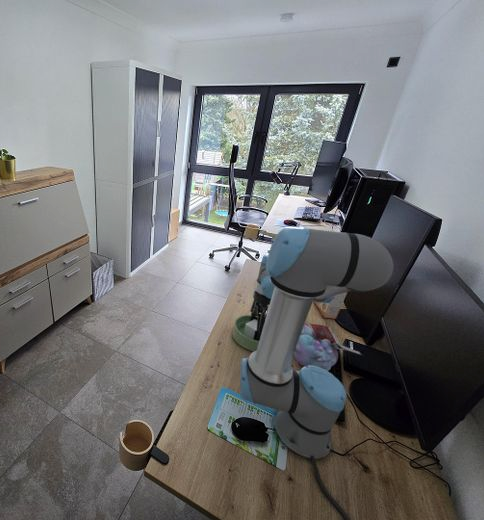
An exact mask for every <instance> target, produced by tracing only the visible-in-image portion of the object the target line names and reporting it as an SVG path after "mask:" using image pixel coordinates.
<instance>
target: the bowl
mask: <svg viewBox="0 0 484 520" xmlns="http://www.w3.org/2000/svg"><path fill="white" fill-rule="evenodd" d="M256 317H258V316H256ZM250 318H251V314H243V315H240V316H238V317H237V318H236V319H235V320H234V323H233V328H232V331H231V333H232V334H231V335H232V337H233V339H234V341H235V343H237V344H238V345H239V346H240V347H242V348H244V349H245V350H247V351H251V352H254V351H257V348H258V344H259V341H257V340H253V339H250V338H248V337H246V336H244V335H243V333H244V329H245V325H246V323H248V322H250Z"/></svg>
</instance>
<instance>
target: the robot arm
mask: <svg viewBox="0 0 484 520" xmlns="http://www.w3.org/2000/svg"><path fill="white" fill-rule="evenodd" d="M393 272H394V261H393V258H392V255H391V253H390V252H389V250H388V249H387V248H386V247H385V245H383V244H382V243H381V242H380V241H378V240H376V239H374V238H372V237H370V236H367V235H364V234H359V233H349V232H342V231H340V232H339V231H332V230H324V229H316V228H308V227H306V226H304V227H295V226H286V227H283V228H282V229H280V230H279V232H278V233H277V234H276V235H275V237H274V239H273V240H272V243H271V246H270V249H269V252H268V253H266V254H264V255H262V258H261V261H260V265H259V270H258V275H257V279H256V282H255V285H254V291H253V296H252V298H253V301H252V304H251V307H250V310H249V311H250V315H251V318H250V321H252V320H254V319H255V320H257V330H255V334H254V338H253V340H257V341H259V344H258V348H257V351H252V352H251V353H250V354H249V356H248V357H243V358H242V359H241V366H240V387H239V390H240V391H239V392H240V393H239V394H240V396H241V398H242V400H245V401H247V402H249V403H253V404H254V405H259V406H263V407H267V408H270V409H273V410H278V411H277V413H276V415H275V417H274V420H273V426H274V430H275V431H274V432H275V433H276V435H277V437H278V439H279V440H280V442H281V443H282V444H283V445H284V446H285V447H286V448H287V449H288V450H289V451H291V452H292V453H294V454H295V455H297V456H298V457H300V458H303V459H307V460H310V461H311V463H312V466H313V469H314V475H315V477H316V481H317V483H318V485H319V487H320V490H322V492H323V494H324V495H325V496H326V497H327V499H328V500H329V501H330V502H331V504H332V505H333V506H334V507H335V508H336V509H337V511H338V512H339V513H340V514H341V516H342V517H343V519H344V520H351V519H350V517H349V516H348V514H347V513H346V511H345V510H344V509H343V508H342V507H341V505H340V504H339V502H337V501H336V500H335V499H334V497H333V496H332V495H331V494H330V492H329V491H328V490H327V488H326V487H325V485H324V482H323V481H322V479H321V474H320V471H319V467H318V463H317V461H319V460H322V459H324V458H326V457H327V456H328V455H329V453H330V451H331V449H332V445H333V438H332V429H333V427H334V425H335V424H336V422H337V420H338V418H339V416H340V413H341V412H342V411H343V410H344V408H345V404H346V401H347V392H346V388H345V387H344V385H343V383H342V382H341V381H340V380H339V379H338V378H337V377H336V376H334V374H333V373H331V372H330V371H329V370H328V371H326V370H324V369H322V368H320V367H317V366H311V365H309V366H303V367H302V368H300V369H299V370H295V369H293V367H292V365H291V362H292V360H293V356H294V352H295V348H296V346H297V343H298V340H299V338H300V335H301V332H302V329H303V327H304V324H305V325H306V321H307V319H308V316H309V314H310V310H311V307H312V305H313V302H314V301H315V302H319V303H330V302H331V301H332V300H333V299H334V296H335V295H338V294H342V293H345V292H347V293H348V292H355V293H366V292H369V291H374V290H376V289H379V288H381V287H382V286H384V285H386V283H387V282H388V281H389V280H390V278H391V277H392V275H393ZM315 302H314V303H315ZM256 316H258V317H256Z"/></svg>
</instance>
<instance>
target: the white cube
mask: <svg viewBox="0 0 484 520" xmlns="http://www.w3.org/2000/svg"><path fill="white" fill-rule="evenodd" d="M255 330H257V320H255V319H254V320H252V321H250V322H248V323H246V325H245V329H244V333H243V335H244V336H246V337H248V338H250V339H253V338H254V334H255Z"/></svg>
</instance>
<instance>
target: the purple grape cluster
mask: <svg viewBox="0 0 484 520" xmlns="http://www.w3.org/2000/svg"><path fill="white" fill-rule="evenodd" d="M309 325H310V326H308V325H306V323H305V324H304V327H303V329H302V332H301V335H300V338H299V340H298V343H297V346H296V348H295V351H294V354H293V356H294V358H295V361H296V362H297V363H299V364H300V365H301V366H303V367H306V366H309V365H311V366H317V367H320V368H322V369H324V370H326V371H328V372H329V370H331V368H332V367H333V366H335V365H336V364H337V362H338V360H339V351H338V350H340V351H344V352H347V353H352V354H355V355H358V356H359V355H360V356H362V353H361V352H360V351H358V350H356V349H352V348H350V347H347V346H346V345H342V344H340V341H339V339H338V338H337V336H336V335H335V333H334V332H333V331H332V329H331V327H329V326H328V325H327V324H318V323H312V322H311V323H309Z"/></svg>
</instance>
